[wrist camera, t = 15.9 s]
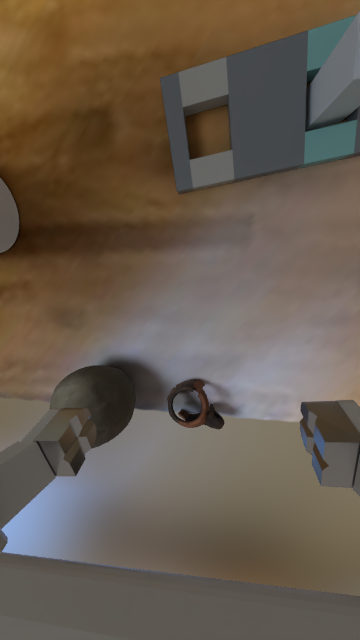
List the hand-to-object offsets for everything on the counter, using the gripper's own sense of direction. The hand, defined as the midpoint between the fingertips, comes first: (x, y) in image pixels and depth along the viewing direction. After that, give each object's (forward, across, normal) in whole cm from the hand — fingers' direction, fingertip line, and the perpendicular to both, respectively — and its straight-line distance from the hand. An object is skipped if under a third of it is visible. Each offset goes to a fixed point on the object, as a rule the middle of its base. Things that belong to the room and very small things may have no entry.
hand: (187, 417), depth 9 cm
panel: (+31, -9, -18) cm, 37 cm away
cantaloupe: (+31, +23, +20) cm, 44 cm away
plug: (+31, -16, -18) cm, 39 cm away
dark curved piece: (+31, +6, +26) cm, 41 cm away
